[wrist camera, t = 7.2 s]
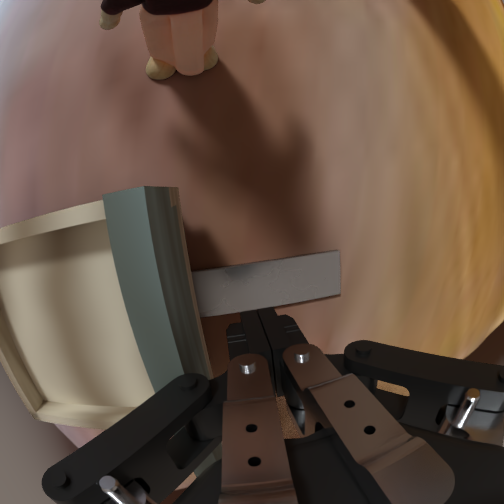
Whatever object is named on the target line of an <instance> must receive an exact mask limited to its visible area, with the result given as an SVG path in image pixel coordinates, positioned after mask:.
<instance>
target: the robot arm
mask: <svg viewBox="0 0 504 504" xmlns="http://www.w3.org/2000/svg"><path fill="white" fill-rule="evenodd" d="M240 315H241V322H240V323H233V324H230V325H229V327H228V328H227V330H226V332H227V340H228V349H229V357H230V362H229V364H228V370H227V371H226V372H225V373H224V374H222V375H220V376H219V377H216V378H213V379H211V380H208V379H207V377H205V376H204V375H202V374H198V373H187V374H183V375H180V376H178V377H176V378H175V379H173V380H172V381H171V382H169V383H168V384H167V385H166V386H164V387H163V388H162V389H160V390H159V391H158V392H157V393H155V394H154V395H153V396H151V397H150V398H149V399H147V400H146V401H145V402H143V403H142V404H141V405H139V406H138V407H137V408H135V409H134V410H133V411H131V412H130V413H129V414H127V415H126V416H125V417H123V418H122V419H120V420H119V421H118V422H116V423H115V424H114V425H112V426H111V427H109V428H108V429H107V430H105V431H104V432H102V433H101V434H99V435H98V436H97V437H95V438H94V439H92V440H91V441H89V442H88V443H86V444H85V445H84V446H82V447H81V448H79V449H78V450H76V451H75V452H73V453H72V454H70V455H69V456H67V457H66V458H64V459H63V460H61V461H59V462H58V463H56V464H55V465H53V466H52V467H50V468H49V469H48V470H47V471H46V472H45V473H44V475H43V478H42V488H43V490H44V492H45V493H46V495H47V496H49V497H50V498H51V499H52V500H53V501H54V502H56V503H57V504H160V503H161V502H162V501H163V500H164V499H165V498H166V497H167V496H168V495H169V494H171V493H172V492H173V491H174V490H175V489H176V488H177V487H178V486H179V485H180V484H181V483H182V482H183V481H184V480H185V479H186V478H187V477H188V476H189V475H190V474H191V473H192V472H193V471H194V470H195V469H196V468H197V467H198V466H199V465H200V464H201V463H202V462H203V461H204V460H205V459H206V458H207V457H208V456H209V455H210V454H211V453H212V451H213V450H214V449H215V448H216V447H217V446H218V445H219V444H220V443H221V442H222V458H221V459H220V460H218V461H216V462H214V463H213V464H211V465H210V466H208V467H207V468H206V469H205V470H204V471H203V472H202V473H201V474H200V475H199V476H198V477H197V478H196V479H195V480H194V481H193V483H192V484H191V485H190V486H189V487H188V488H187V489H186V490H185V491H184V492H183V493H182V494H181V495H180V496H179V497H178V498H177V499H176V501H175V502H174V503H173V504H504V447H502V446H503V440H504V366H501V365H494V364H487V363H480V362H474V361H467V360H462V359H456V358H450V357H445V356H439V355H434V354H429V353H424V352H419V351H414V350H409V349H404V348H399V347H395V346H390V345H386V344H381V343H377V342H373V341H368V340H360V341H355V342H352V343H350V344H348V345H347V346H346V348H345V350H344V354H333V355H329V354H324V353H323V352H322V351H321V350H320V349H319V348H318V347H317V346H315V345H312V344H309V343H308V341H307V340H306V338H305V337H304V335H303V333H302V332H301V330H300V328H299V327H298V325H297V324H296V322H295V320H294V319H293V318H292V317H290V316H288V315H286V314H285V315H280V316H277V314H276V312H275V310H274V308H273V306H271V307H266V308H260V309H257V311H256V309H254V310H248V311H242V312H240ZM378 380H380V381H384V382H388V383H392V384H395V385H399V386H403V387H405V388H407V389H408V391H409V393H410V396H403V395H399V394H395V393H392V392H388V391H384V390H381V389H377V388H376V387H377V381H378ZM275 390H276V393H277V397H279V396H285V399H286V407H287V411H288V413H289V415H290V418H291V420H292V422H293V424H294V426H295V428H296V430H297V432H298V434H299V436H300V438H296V439H284V437H283V432H282V427H281V422H280V417H279V412H278V407H277V402H276V393H275ZM183 426H184V427H183ZM182 427H183V428H182ZM181 428H182V429H181ZM180 429H181V430H180ZM179 430H180V431H179ZM173 435H174V436H173ZM172 436H173V437H172ZM171 437H172V438H171ZM170 438H171V439H170ZM169 439H170V440H169Z"/></svg>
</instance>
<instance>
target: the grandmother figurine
mask: <svg viewBox="0 0 504 504" xmlns="http://www.w3.org/2000/svg"><path fill="white" fill-rule="evenodd" d="M248 1H249V2H251V3H254V4H260V3H263V2H264V1H265V0H248ZM140 4H141V8H140V13H139V15H140V22H141V26H142V30H143V33H144V37H145V40H146V44H147V48H148V50H149V53H150V56H151V57H150V59H149V61H148V64H147V66H146V73H147V75H148V76H149V77H150V78H152V79H166V78H168V77H170V76H171V75H173V73H174V72H175V71H176V70H177V71H178V72H179V73H181V74H183V75H189V76H193V75H197V74H200V73H202V72H203V71H204V70H208V69H211V68H212V67H214V66H215V65H216V63H217V61H218V55H217V53H216V51H215V49H214V47H213V44H214V42H215V36H216V32H217V25H218V0H103V1H102V4H101V9H102V11H101V18H100V21H99V24H100V27H101V28H102V29H105V30H110V29H113V28H115V27H116V26H117V25H118V24H119V22H120V16H121V15H122V12H123V11H124V10H126V9H129V8H132V7H134V6H137V5H140Z"/></svg>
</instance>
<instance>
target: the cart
mask: <svg viewBox="0 0 504 504" xmlns="http://www.w3.org/2000/svg"><path fill="white" fill-rule="evenodd" d="M102 196H103V200H100V201H96V202H92V203H87V204H83V205H79V206H75V207H71V208H67V209H63V210H60V211H56V212H52V213H48V214H45V215H41V216H38V217H34V218H31V219H28V220H24V221H21V222H18V223H15V224H12V225H8V226H5V227H2V228H0V361H1V363H2V365H3V367H4V369H5V371H6V373H7V375H8V377H9V378H10V381H11V382H12V384H13V386H14V388H15V389H16V391H17V393H18V394H19V396H20V398H21V399H22V401H23V403H24V404H25V406H26V407H27V409H28V410H29V412H30V413H31V415H32V416H33V418H34V419H36V420H40V421H45V422H51V423H56V424H62V425H69V426H76V427H84V428H93V429H104V430H107V429H108V428H109V427H111V426H112V425H114V424H115V423H116V422H118V421H119V420H120V419H122V418H123V417H125V416H126V415H127V414H129V413H130V412H131V411H133V410H134V409H135V408H137V407H138V406H139V405H141V404H142V403H143V402H145V401H146V400H147V399H149V398H150V397H151V396H153V395H154V394H155V393H157V392H158V391H159V390H160V389H162V388H163V387H164V386H166V385H167V384H168V383H169V382H171V381H172V380H173V379H175V378H176V377H178V376H180V375H183V374H187V373H198V374H202V375H204V376H205V377H207V379H208V380H211V379H213V378H214V377H213V373H212V369H211V365H210V361H209V356H208V352H207V348H206V343H205V339H204V334H203V330H202V325H201V320H200V316H199V311H198V306H197V301H196V296H195V290H194V285H193V280H192V274H191V269H190V263H189V257H188V251H187V245H186V239H185V233H184V226H183V219H182V212H181V205H180V198H179V190H178V188H177V187H153V186H142V187H137V188H132V189H127V190H123V191H118V192H113V193H109V194H104V195H102ZM183 427H184V426H183ZM183 427H182V428H183ZM182 428H181V429H182ZM181 429H180V430H181ZM180 430H179V431H180ZM221 458H222V442H221V443H220V444H219V445H218V446H217V447H216V448H215V449H214V450H213V451H212V453H211V454H210V455H209V456H208V457H207V458H206V459H205V460H204V461H203V462H202V463H201V464H200V465H199V466H198V467H197V468H196V469H195V470H194V471H193V472H194V473H195V475H196V477H198V476H199V475H200V474H201V473H202V472H203V471H204V470H205V469H206V468H207V467H208V466H210V465H211V464H213V463H214V462H216V461H218V460H220V459H221Z"/></svg>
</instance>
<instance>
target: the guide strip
mask: <svg viewBox="0 0 504 504" xmlns="http://www.w3.org/2000/svg"><path fill="white" fill-rule="evenodd" d="M191 274H192V280H193V285H194V290H195V296H196V301H197V306H198V311H199V316H200V318H201V317H208V316H216V315H223V314H230V313H236V312H242V311H248V310H254V309H260V308H266V307H271V306H279V305H285V304H290V303H296V302H301V301H307V300H312V299H317V298H322V297H327V296H332V295H337V294H340V251H339V250H332V251H326V252H319V253H313V254H306V255H300V256H293V257H286V258H280V259H273V260H266V261H259V262H253V263H246V264H239V265H232V266H225V267H218V268H211V269H204V270H197V271H191Z"/></svg>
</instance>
